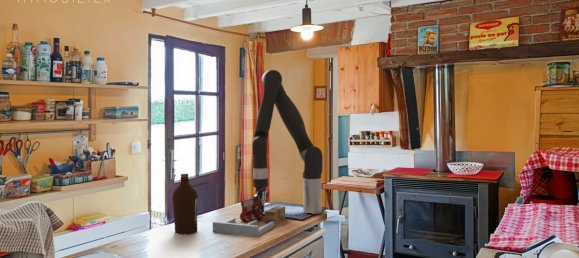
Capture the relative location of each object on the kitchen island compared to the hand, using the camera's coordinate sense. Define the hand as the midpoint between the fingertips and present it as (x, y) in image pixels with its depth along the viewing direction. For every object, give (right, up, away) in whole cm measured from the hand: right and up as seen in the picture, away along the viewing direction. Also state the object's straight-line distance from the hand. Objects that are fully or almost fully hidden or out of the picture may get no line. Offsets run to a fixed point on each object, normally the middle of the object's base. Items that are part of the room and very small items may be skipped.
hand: (261, 212), depth 226 cm
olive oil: (-31, -4, -27) cm, 41 cm away
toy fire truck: (-4, -2, -9) cm, 10 cm away
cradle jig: (-6, -3, -24) cm, 25 cm away
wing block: (+7, -2, -12) cm, 14 cm away
